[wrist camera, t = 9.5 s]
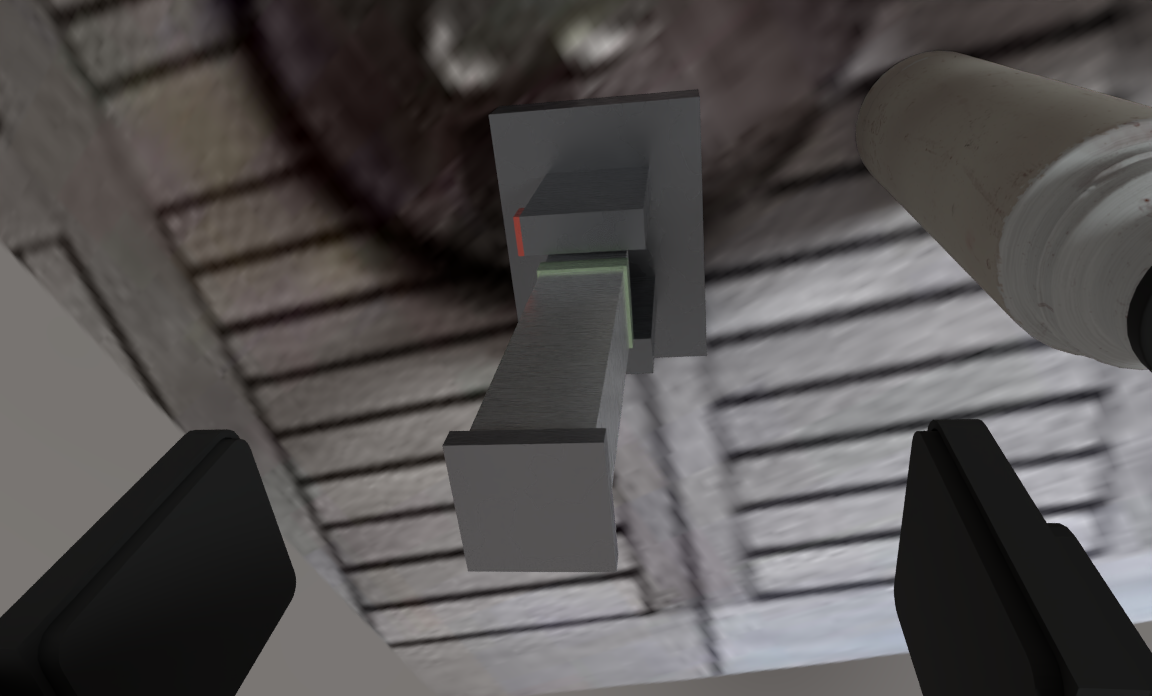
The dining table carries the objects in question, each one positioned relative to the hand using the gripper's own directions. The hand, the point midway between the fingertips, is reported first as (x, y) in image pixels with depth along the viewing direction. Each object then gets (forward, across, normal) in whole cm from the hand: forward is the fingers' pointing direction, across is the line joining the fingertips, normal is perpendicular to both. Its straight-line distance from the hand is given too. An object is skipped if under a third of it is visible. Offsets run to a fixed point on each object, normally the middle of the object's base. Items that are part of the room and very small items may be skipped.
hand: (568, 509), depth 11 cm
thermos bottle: (+39, -15, +4) cm, 42 cm away
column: (+28, +3, +9) cm, 30 cm away
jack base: (+38, +4, +9) cm, 40 cm away
